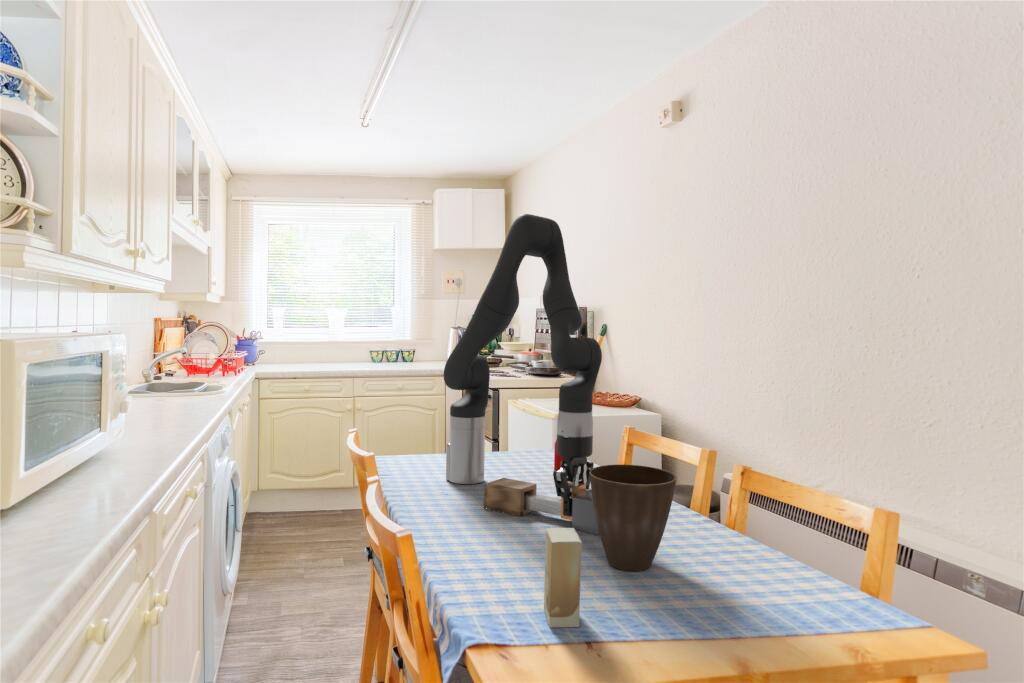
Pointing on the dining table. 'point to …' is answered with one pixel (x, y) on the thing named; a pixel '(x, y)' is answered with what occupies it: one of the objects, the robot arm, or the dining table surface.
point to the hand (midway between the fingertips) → (573, 513)
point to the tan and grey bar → (549, 502)
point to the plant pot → (631, 512)
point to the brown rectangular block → (507, 496)
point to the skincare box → (562, 577)
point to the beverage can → (557, 459)
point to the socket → (584, 513)
